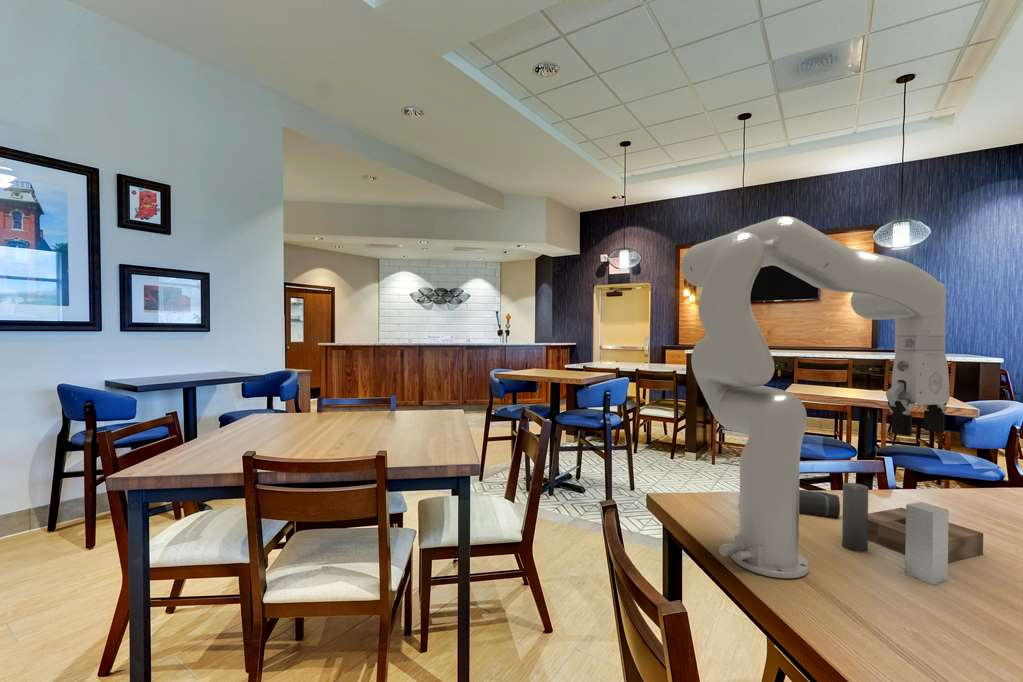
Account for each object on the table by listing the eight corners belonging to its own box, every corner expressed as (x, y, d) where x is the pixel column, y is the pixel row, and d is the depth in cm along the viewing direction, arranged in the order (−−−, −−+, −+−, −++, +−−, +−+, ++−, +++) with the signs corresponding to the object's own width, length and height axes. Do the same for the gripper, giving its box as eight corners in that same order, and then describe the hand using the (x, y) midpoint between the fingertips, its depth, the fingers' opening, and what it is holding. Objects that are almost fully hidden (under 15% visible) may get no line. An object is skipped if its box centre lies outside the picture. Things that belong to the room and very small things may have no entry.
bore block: (935, 566, 85) (935, 543, 85) (855, 534, 98) (855, 515, 98) (983, 554, 90) (983, 533, 90) (901, 525, 103) (901, 507, 103)
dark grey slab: (847, 539, 97) (738, 522, 106) (835, 509, 114) (741, 496, 123) (847, 513, 97) (738, 498, 106) (835, 487, 113) (741, 476, 123)
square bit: (932, 585, 79) (933, 512, 78) (905, 573, 82) (906, 504, 82) (947, 580, 80) (948, 509, 80) (920, 569, 84) (921, 501, 84)
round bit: (858, 553, 90) (858, 490, 90) (837, 544, 94) (838, 483, 94) (872, 550, 91) (873, 488, 91) (851, 541, 95) (852, 481, 95)
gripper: (912, 346, 86) (910, 440, 87) (970, 346, 92) (968, 434, 93) (868, 345, 93) (867, 432, 94) (925, 345, 99) (924, 426, 100)
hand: (917, 433), depth 93 cm, fingers open, 9 cm apart
